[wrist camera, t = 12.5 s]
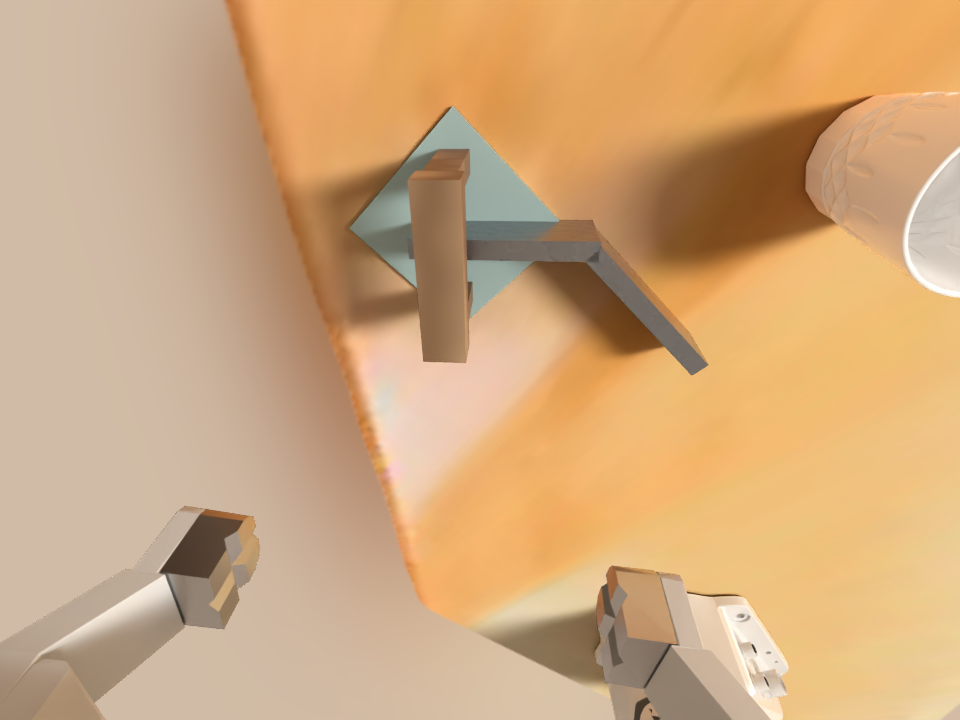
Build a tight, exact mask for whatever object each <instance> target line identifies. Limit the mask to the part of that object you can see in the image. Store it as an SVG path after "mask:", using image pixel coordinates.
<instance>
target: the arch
mask: <svg viewBox="0 0 960 720" xmlns="http://www.w3.org/2000/svg"><path fill="white" fill-rule="evenodd" d="M469 176H470V149H439V150H438V151H437V152H436V154H435V155H434V156H433V157H432V159H431V160H430V161H429V162H428V164H427V165H426V166H425V167H424V168H423V170H422V171H415V172H414V173H413V174H412V175H411V177H410V178H409V179H408V191H409V203H410V214H411V225H412V237H413V248H414V260H415V271H416V283H417V294H418V306H419V317H420V328H421V340H422V351H423V362H453V363H466V360H467V354H468V349H469V318H470V313H471V308H472V303H473V282H468V279H467V242H466V205H465V185H466V183H467V181H468V178H469Z"/></svg>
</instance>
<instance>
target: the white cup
mask: <svg viewBox="0 0 960 720" xmlns="http://www.w3.org/2000/svg"><path fill="white" fill-rule="evenodd" d="M805 190H806V192H807V194H808V196H809V197H810V199H811V200H812V202H813V204H814V205H815V207H816V209H817V210H818V211H820V212H821V213H823V214H824V215H826V216H827V217H829V218H830V219H832V220H833V221H834V222H835V223H836V224H837V225H838V226H840V227H841V228H842V229H843V230H844V231H845V232H847V233H848V234H849V235H851V236H852V237H854V238H855V239H856V240H857V241H859V242H860V243H861V244H862V245H864V246H865V247H867V248H868V249H869V250H871V251H872V252H874V253H875V254H877V255H878V256H879V257H881V258H882V259H884V260H885V261H887V262H888V263H890V264H891V265H893V266H894V267H896V268H897V269H898V270H900V271H901V272H903V273H904V274H906V275H907V276H909V277H910V278H911V279H913V280H914V281H916V282H917V283H918V284H920V285H921V286H923V287H924V288H926V289H928V290H930V291H932V292H935V293H937V294H940V295H944V296H949V297H957V298H960V92H925V93H895V94H884V95H875V96H873V97H871V98H869V99H867V100H865V101H863V102H861V103H859V104H857V105H855V106H853V107H851V108H849V109H847V110H846V111H844V112H843V113H842V114H841V115H840V116H839V117H838V118H837V119H836V120H835V121H834V122H833V123H832V124H831V125H830V126H829V127H828V128H827V129H826V130H825V131H824V132H823V133H822V134H821V135H820V136H819V138H818V140H817V142H816V144H815V146H814V148H813V151H812V153H811V155H810V157H809V159H808V161H807V163H806V188H805Z"/></svg>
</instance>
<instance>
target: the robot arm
mask: <svg viewBox="0 0 960 720" xmlns="http://www.w3.org/2000/svg"><path fill="white" fill-rule="evenodd" d="M255 527H256V524H255V520H254V517H253V516H246V515H240V514H234V513H228V512H221V511H215V510H209V509H202V508H196V507H188V506H184V507H183V508H181V509H180V510H179V511H178V512H176V513H175V515H174V516H173V517H172V519H171V520H170V522H169V523H168V524H167V525H166V527H165V528H164V529H163V530H162V532H161V533H160V534H159V536H158V537H157V538H156V540H155V541H154V542H153V544H152V545H151V546H150V547H149V549H148V550H147V551H146V553H145V554H144V555H143V557H142V558H141V559H140V561H139V562H138V563H137V565H136V566H135V567H134V568H133V569H125V570H123V571H121V572H120V573H118V574H116V575H114V576H113V577H111V578H109V579H108V580H106V581H104V582H103V583H101V584H99V585H98V586H96V587H94V588H93V589H91V590H89V591H87V592H86V593H84V594H82V595H80V596H79V597H77V598H75V599H74V600H72V601H70V602H69V603H67V604H65V605H63V606H62V607H60V608H58V609H57V610H55V611H53V612H51V613H50V614H48V615H46V616H45V617H43V618H41V619H39V620H38V621H36V622H34V623H33V624H31V625H29V626H28V627H26V628H24V629H23V630H21V631H19V632H17V633H16V634H14V635H12V636H11V637H9V638H7V639H6V640H4V641H2V642H0V720H105V718H104V717H103V715H102V714H101V712H100V711H99V709H98V708H97V706H96V705H95V702H96V701H97V700H98V699H100V698H101V697H102V696H103V695H104V694H106V693H107V692H108V691H109V690H110V689H112V688H113V687H114V686H115V685H116V684H117V683H119V682H120V681H121V680H122V679H123V678H125V677H126V676H127V675H128V674H130V673H131V672H132V671H133V670H134V669H136V668H137V667H138V666H139V665H140V664H142V663H143V662H144V661H145V660H146V659H147V658H149V657H150V656H151V655H152V654H153V653H155V652H156V651H157V650H158V649H159V648H161V647H162V646H163V645H164V644H165V643H167V641H169V640H170V639H171V638H173V637H174V636H175V635H176V634H177V633H179V632H180V631H181V630H182V629H183V628H184V627H185V626H184V625H189V626H199V627H209V628H216V629H224V628H225V626H226V624H227V622H228V621H229V619H230V617H231V615H232V613H233V611H234V609H235V607H236V605H237V604H238V602H239V596H238V591H237V590H238V589H239V588H241V587H242V586H243V585H245V584H246V583H248V582H249V581H250V579H251V577H252V575H253V573H254V571H255V568H256V565H257V562H258V558H259V551H260V544H259V539H258V538H257V537H256V536H255V535H254V534H253V530H254V529H255ZM606 577H607V584H605V585H604V586H602V587H601V589H600V592H599V595H598V600H597V608H596V609H597V625H598V631H599V633H600V644H599V645H598V647H597V649H596V650H595V658H596V662H597V664H598V665H600V666H602V667H603V671H604V679H605V683H608V687H609V692H610V696H611V701H612V705H613V710H614V715H615V719H616V720H782V718H783V712H782V709H781V705H780V703H779V700H778V697H782V696H786V695H787V694H788V693H787V690H786V687H785V685H784V682H783V680H782V678H781V676H782V675H784V674H785V673H786V672H787V671H788V669H789V667H788V664H787V661H786V658H785V657H784V655H783V654H782V652H781V651H780V649H779V648H778V646H777V645H776V643H775V642H774V640H773V639H772V637H771V636H770V634H769V633H768V631H767V630H766V628H765V627H764V625H763V624H762V622H761V621H760V619H759V618H758V616H757V615H756V613H755V612H754V610H753V609H752V607H751V606H750V604H749V603H748V601H747V600H746V599H745V598H743V597H740V596H720V597H707V596H701V595H695V594H688V593H687V592H686V589H685V585H684V582H683V579H682V578H681V577H680V575H677V574H671V573H662V572H655V571H653V570H645V569H636V568H628V567H620V566H611V567H610V568H609V569H608V572H607V574H606Z"/></svg>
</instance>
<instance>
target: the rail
mask: <svg viewBox="0 0 960 720" xmlns="http://www.w3.org/2000/svg"><path fill="white" fill-rule="evenodd" d="M466 242H467V260H493V261H554V262H586V263H587V264H588V265H589V267H590V268H591V269H592V270H593V271H594V272H595V273H596V274H597V275H598V276H599V277H600V278H601V279H602V280H603V281H604V283H605V284H606V285H607V286H608V287H609V288H610V289H611V290H612V291H613V292H614V293H615V294H616V295H617V296H618V297H619V299H620V300H621V301H622V302H623V303H624V304H625V305H626V306H627V307H628V308H629V309H630V310H631V311H632V312H633V313H634V314H635V316H636V317H637V318H638V319H639V320H640V321H641V322H642V323H643V324H644V325H645V326H646V327H647V328H648V329H649V330H650V332H651V333H652V334H653V335H654V336H655V337H656V338H657V339H658V340H659V341H660V342H661V343H662V344H663V345H664V346H665V347H666V349H667V350H668V351H669V352H670V353H671V354H672V355H673V356H674V357H675V358H676V359H677V360H678V361H679V362H680V363H681V365H682V366H683V367H684V368H685V369H686V370H687V371H688V372H689V373H690V374H691V375H694V374H695V373H697V372H698V371H700V370H701V369H703V368H705V367H706V366H708V363H707V362H706V360H705V358H704V356H703V355H702V353H701V351H700V349H699V348H698V346H697V344H696V343H695V341H694V339H693V337H692V336H691V334H690V333H689V332H688V331H687V330H686V328H685V327H684V326H683V325H682V324H681V323H680V322H679V321H678V320H677V318H676V317H675V316H674V315H673V314H672V313H671V312H670V311H669V310H668V308H667V307H666V306H665V305H664V304H663V303H662V302H661V301H660V300H659V298H658V297H657V296H656V295H655V294H654V293H653V292H652V291H651V289H650V288H649V287H648V286H647V285H646V284H645V283H644V282H643V281H642V279H641V278H640V277H639V276H638V275H637V274H636V273H635V272H634V271H633V269H632V268H631V267H630V266H629V265H628V264H627V263H626V262H625V261H624V259H623V258H622V257H621V256H620V255H619V254H618V253H617V252H616V251H615V249H614V248H613V247H612V246H611V245H610V244H609V243H608V242H607V241H606V239H605V238H604V237H603V236H602V235H601V234H600V233H599V232H598V231H597V229H596V228H595V226H594V223H593V221H589V220H559V222H549V221H466ZM407 244H408V255H409V259H414V248H413V237H412V232H411V234H410V235H409V237H408V239H407Z"/></svg>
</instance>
